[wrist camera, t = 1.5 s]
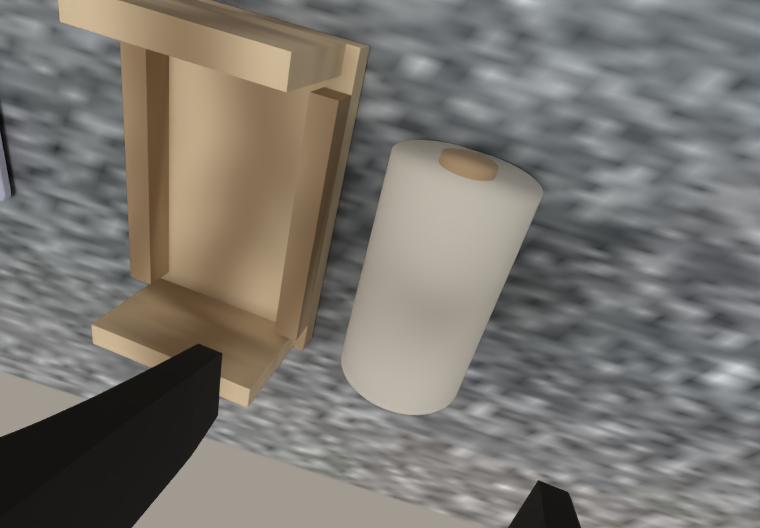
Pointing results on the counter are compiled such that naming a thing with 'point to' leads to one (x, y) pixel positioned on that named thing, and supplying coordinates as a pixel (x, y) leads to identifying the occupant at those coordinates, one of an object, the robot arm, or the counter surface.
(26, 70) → the counter surface
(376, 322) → the paper roll
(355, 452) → the counter surface
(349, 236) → the counter surface
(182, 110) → the holder
